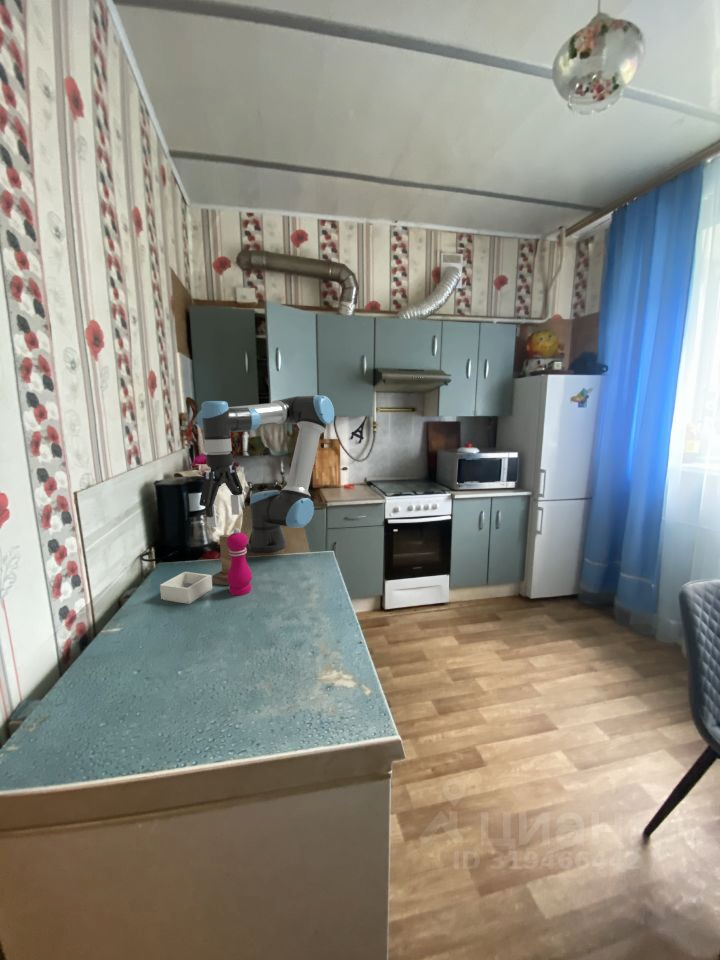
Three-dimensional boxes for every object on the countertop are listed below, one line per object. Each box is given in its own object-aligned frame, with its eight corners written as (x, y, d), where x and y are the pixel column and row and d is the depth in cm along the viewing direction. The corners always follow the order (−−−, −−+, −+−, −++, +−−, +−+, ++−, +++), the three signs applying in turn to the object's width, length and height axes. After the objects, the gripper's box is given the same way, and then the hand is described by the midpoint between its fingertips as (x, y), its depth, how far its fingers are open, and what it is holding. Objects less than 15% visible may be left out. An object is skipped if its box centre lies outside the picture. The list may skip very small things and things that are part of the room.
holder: (227, 574, 126) (226, 567, 126) (244, 576, 124) (244, 569, 124) (213, 583, 120) (212, 575, 119) (231, 585, 118) (231, 578, 117)
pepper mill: (256, 586, 117) (252, 524, 114) (247, 597, 110) (243, 532, 107) (234, 585, 118) (230, 524, 115) (223, 596, 111) (219, 531, 108)
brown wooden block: (225, 578, 123) (222, 534, 121) (235, 579, 122) (232, 535, 120) (222, 580, 122) (219, 536, 120) (233, 581, 121) (230, 537, 118)
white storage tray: (186, 584, 119) (185, 571, 118) (212, 588, 116) (211, 575, 115) (161, 599, 109) (159, 584, 109) (189, 604, 106) (187, 589, 106)
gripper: (229, 448, 126) (235, 509, 130) (180, 458, 102) (188, 532, 106) (250, 448, 124) (254, 510, 128) (205, 458, 100) (212, 533, 104)
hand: (225, 520), depth 117 cm, fingers open, 13 cm apart
